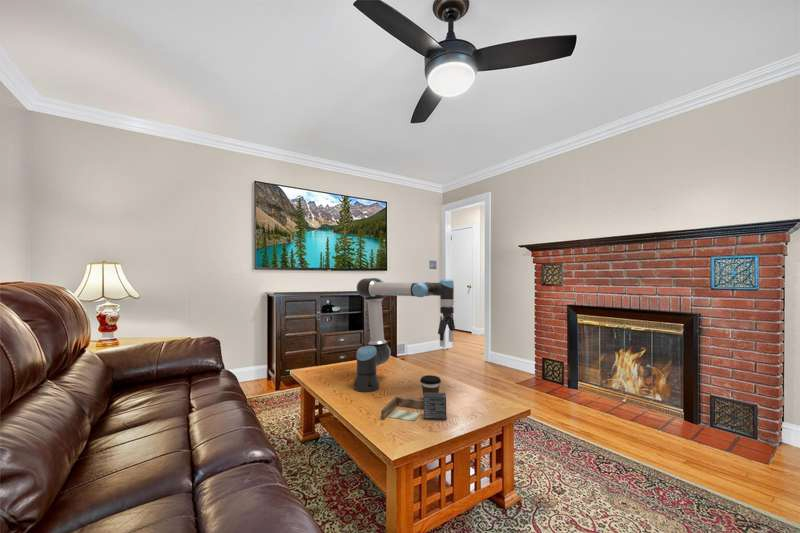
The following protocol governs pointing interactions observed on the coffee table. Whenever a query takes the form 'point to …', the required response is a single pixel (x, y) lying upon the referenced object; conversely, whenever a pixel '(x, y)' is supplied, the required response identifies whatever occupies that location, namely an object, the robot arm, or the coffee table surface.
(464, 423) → the coffee table surface
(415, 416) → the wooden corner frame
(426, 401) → the small box
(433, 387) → the coffee cup
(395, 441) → the coffee table surface
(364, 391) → the robot arm
